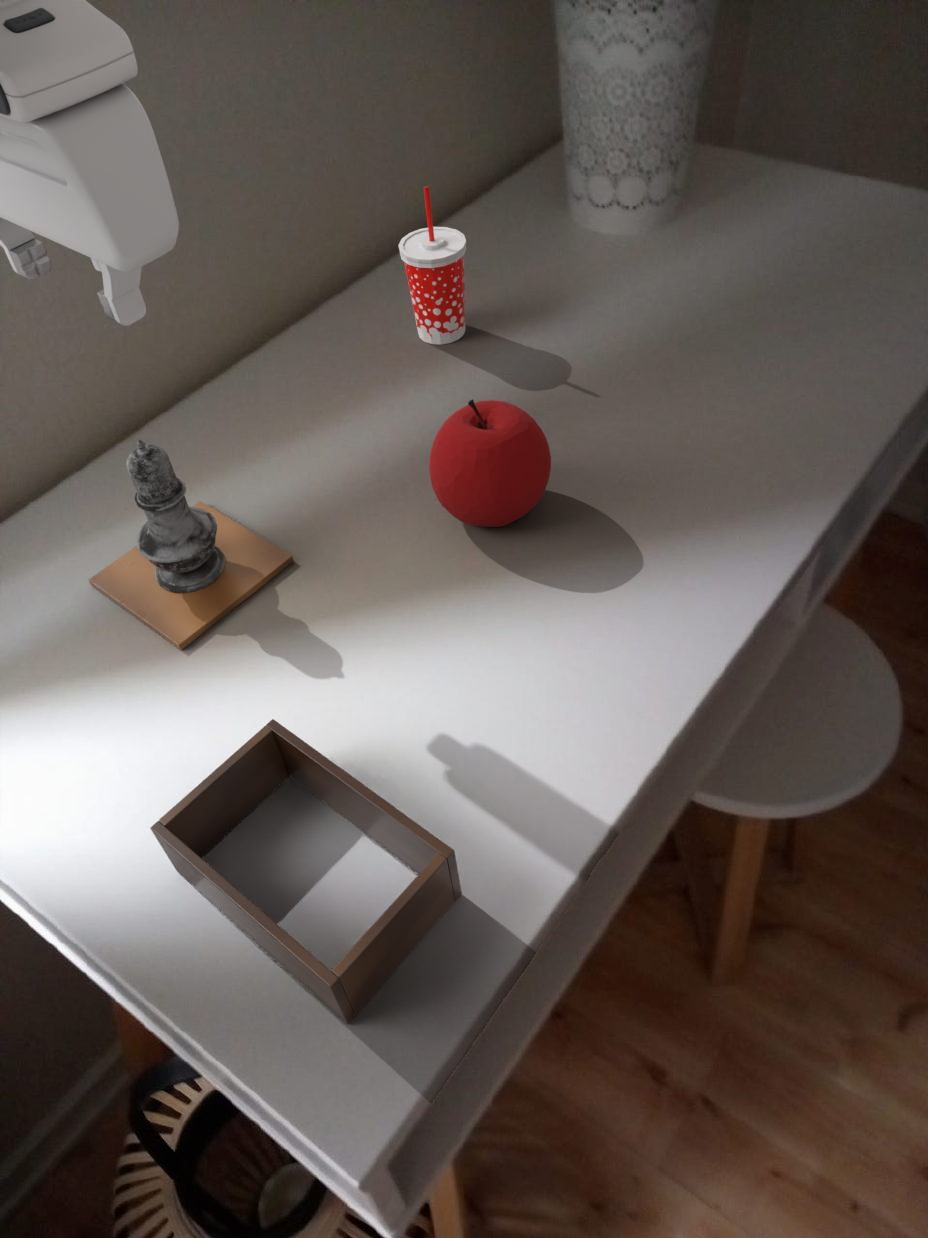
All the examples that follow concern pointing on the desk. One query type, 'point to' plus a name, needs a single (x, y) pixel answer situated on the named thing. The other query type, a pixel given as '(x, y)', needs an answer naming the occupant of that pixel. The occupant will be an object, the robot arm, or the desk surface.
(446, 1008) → the desk surface
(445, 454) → the apple
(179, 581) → the grey stone turned piece
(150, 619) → the trivet
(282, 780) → the open wooden box
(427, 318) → the beverage cup
